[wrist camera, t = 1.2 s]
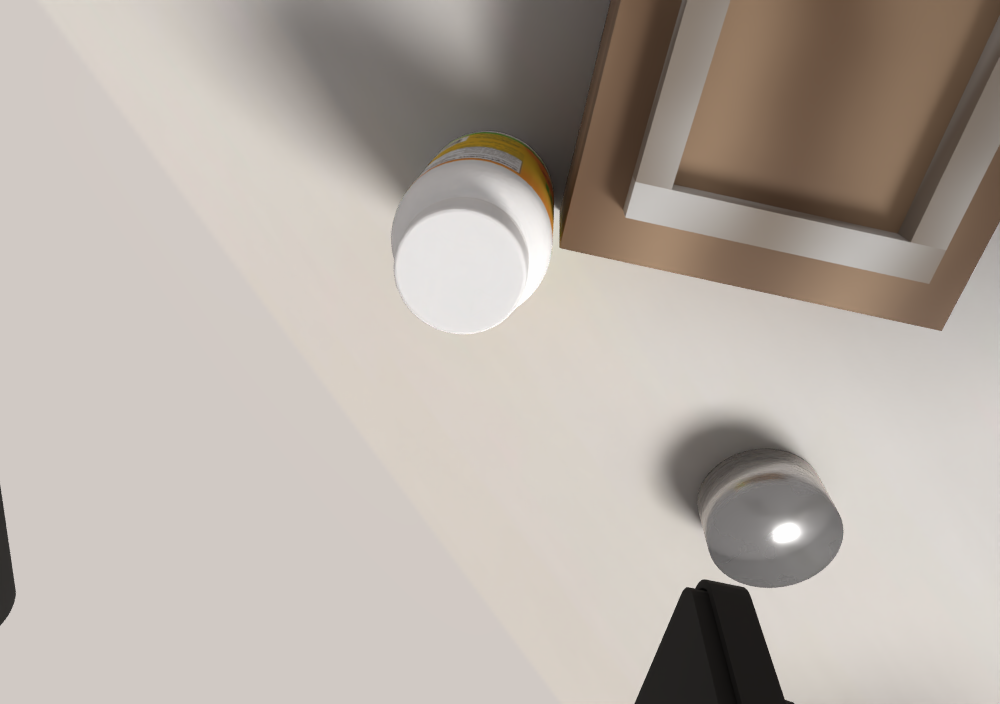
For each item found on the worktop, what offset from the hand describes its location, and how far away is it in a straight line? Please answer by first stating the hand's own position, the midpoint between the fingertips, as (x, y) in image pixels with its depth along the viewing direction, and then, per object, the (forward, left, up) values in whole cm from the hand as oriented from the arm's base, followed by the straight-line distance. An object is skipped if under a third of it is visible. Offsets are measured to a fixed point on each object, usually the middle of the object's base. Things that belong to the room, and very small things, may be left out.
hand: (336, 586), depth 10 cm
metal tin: (-16, +12, -22) cm, 30 cm away
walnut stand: (-10, -7, -22) cm, 25 cm away
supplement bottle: (0, 0, -22) cm, 22 cm away
